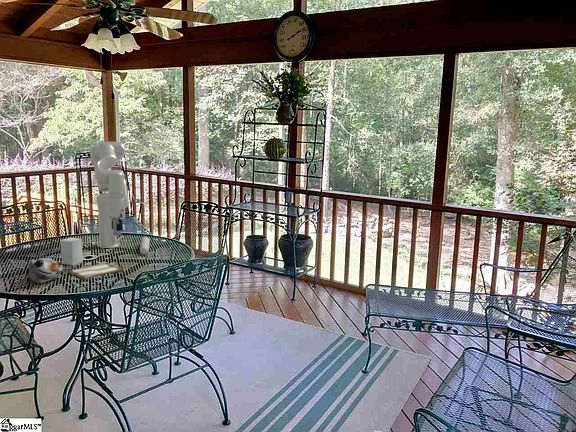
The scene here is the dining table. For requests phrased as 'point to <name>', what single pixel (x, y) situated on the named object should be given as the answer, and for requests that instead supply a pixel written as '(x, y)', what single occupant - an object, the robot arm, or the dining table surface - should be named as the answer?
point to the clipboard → (95, 270)
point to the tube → (144, 246)
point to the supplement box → (71, 251)
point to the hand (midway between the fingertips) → (117, 229)
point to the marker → (115, 227)
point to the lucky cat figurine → (43, 270)
